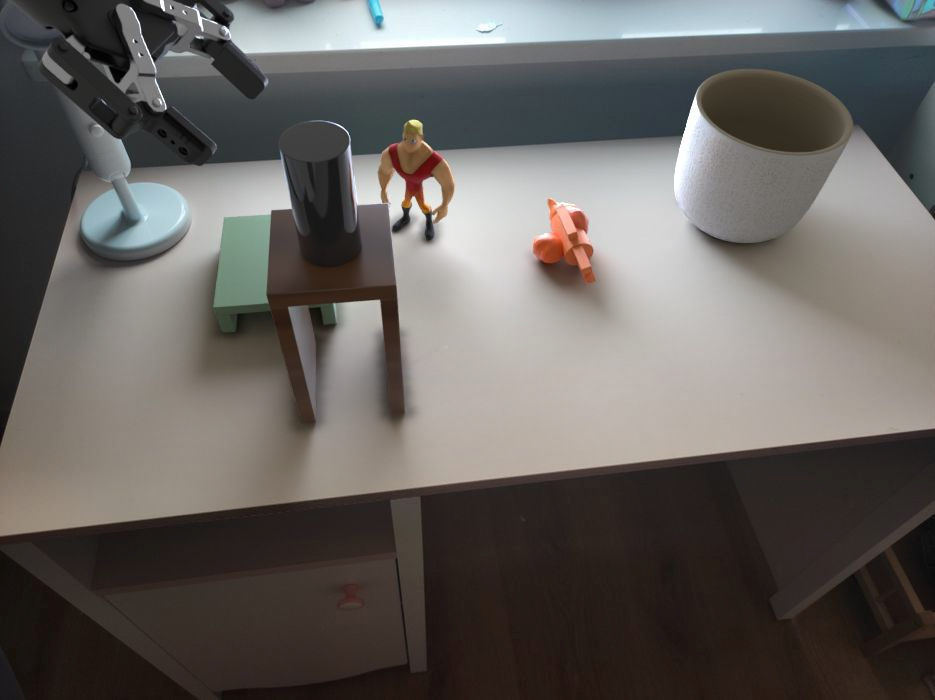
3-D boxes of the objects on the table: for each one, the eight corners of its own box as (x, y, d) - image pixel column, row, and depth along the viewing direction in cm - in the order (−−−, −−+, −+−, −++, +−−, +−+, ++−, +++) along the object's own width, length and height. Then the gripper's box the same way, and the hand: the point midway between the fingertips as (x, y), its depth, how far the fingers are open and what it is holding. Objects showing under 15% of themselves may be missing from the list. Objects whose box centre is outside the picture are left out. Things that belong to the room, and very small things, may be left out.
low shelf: (336, 324, 76) (332, 298, 73) (222, 333, 75) (212, 307, 71) (334, 236, 85) (330, 210, 81) (231, 243, 83) (223, 217, 80)
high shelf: (405, 413, 69) (396, 285, 55) (301, 423, 68) (265, 294, 54) (397, 335, 75) (388, 202, 61) (302, 343, 74) (270, 209, 60)
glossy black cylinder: (334, 276, 55) (318, 171, 48) (287, 250, 57) (263, 145, 49) (374, 240, 58) (364, 135, 50) (327, 217, 60) (311, 112, 52)
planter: (823, 252, 86) (885, 146, 74) (694, 270, 83) (737, 162, 71) (758, 168, 96) (804, 62, 84) (641, 181, 93) (671, 74, 81)
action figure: (373, 227, 86) (363, 119, 74) (385, 210, 88) (377, 101, 76) (446, 247, 84) (447, 139, 72) (456, 229, 86) (459, 120, 74)
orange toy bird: (609, 251, 76) (574, 183, 83) (543, 276, 77) (515, 205, 84) (614, 281, 80) (581, 212, 87) (552, 303, 81) (524, 234, 88)
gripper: (-48, -72, 36) (218, 155, 43) (105, -158, 45) (303, 44, 52) (-80, 17, 40) (164, 208, 48) (64, -76, 49) (251, 98, 57)
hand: (236, 122), depth 50 cm, fingers open, 8 cm apart
